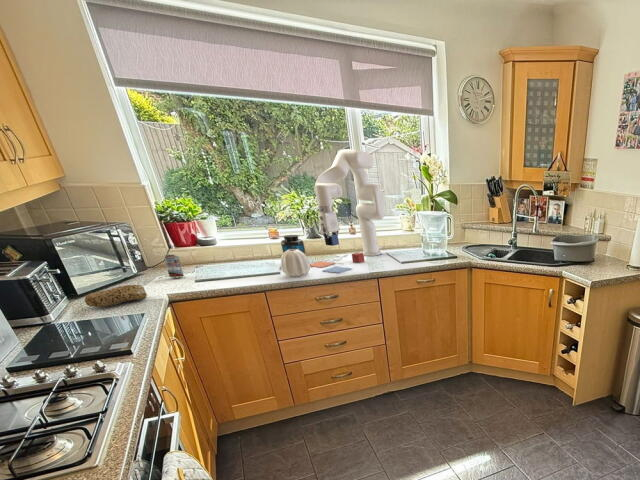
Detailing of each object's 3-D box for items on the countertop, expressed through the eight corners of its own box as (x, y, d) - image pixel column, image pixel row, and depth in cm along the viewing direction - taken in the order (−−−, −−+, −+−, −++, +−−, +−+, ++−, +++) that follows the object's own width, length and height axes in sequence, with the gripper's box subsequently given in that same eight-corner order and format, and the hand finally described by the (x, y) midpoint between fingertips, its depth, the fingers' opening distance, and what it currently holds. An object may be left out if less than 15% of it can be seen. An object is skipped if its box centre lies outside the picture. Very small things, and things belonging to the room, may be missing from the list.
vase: (284, 279, 217) (277, 253, 211) (284, 273, 228) (278, 248, 222) (312, 277, 223) (306, 251, 216) (311, 271, 234) (306, 246, 227)
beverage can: (169, 279, 211) (160, 256, 206) (171, 276, 217) (163, 253, 211) (184, 278, 214) (175, 255, 208) (186, 275, 220) (177, 252, 214)
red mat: (319, 262, 253) (319, 261, 253) (334, 263, 250) (334, 263, 250) (306, 266, 244) (306, 265, 243) (322, 267, 241) (322, 266, 241)
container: (305, 266, 243) (299, 237, 235) (283, 266, 241) (276, 237, 233) (309, 261, 253) (303, 234, 246) (288, 262, 251) (282, 234, 243)
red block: (357, 260, 259) (356, 252, 257) (364, 261, 258) (363, 253, 255) (352, 262, 255) (351, 253, 252) (359, 262, 254) (358, 254, 251)
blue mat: (335, 267, 243) (335, 266, 242) (351, 269, 240) (351, 268, 240) (322, 271, 233) (322, 270, 233) (338, 273, 231) (338, 272, 230)
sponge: (145, 298, 189) (83, 297, 175) (143, 281, 186) (79, 280, 171) (150, 310, 182) (86, 310, 168) (148, 293, 179) (83, 292, 164)
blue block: (331, 243, 234) (330, 234, 232) (339, 244, 233) (337, 235, 230) (325, 245, 230) (324, 235, 227) (333, 245, 229) (331, 236, 226)
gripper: (321, 211, 214) (327, 247, 223) (342, 208, 229) (347, 242, 237) (309, 210, 216) (316, 246, 225) (331, 207, 230) (337, 241, 239)
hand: (332, 244), depth 231 cm, fingers closed on blue block, 5 cm apart
